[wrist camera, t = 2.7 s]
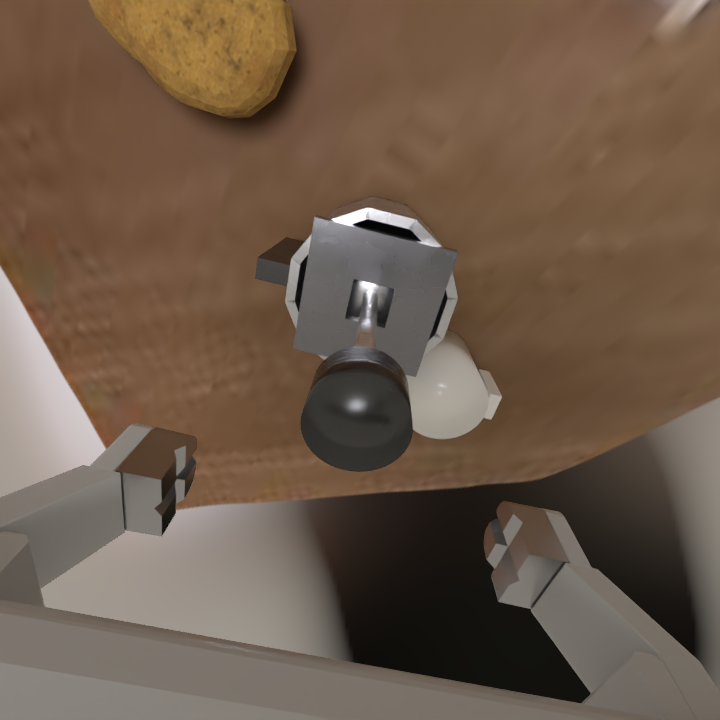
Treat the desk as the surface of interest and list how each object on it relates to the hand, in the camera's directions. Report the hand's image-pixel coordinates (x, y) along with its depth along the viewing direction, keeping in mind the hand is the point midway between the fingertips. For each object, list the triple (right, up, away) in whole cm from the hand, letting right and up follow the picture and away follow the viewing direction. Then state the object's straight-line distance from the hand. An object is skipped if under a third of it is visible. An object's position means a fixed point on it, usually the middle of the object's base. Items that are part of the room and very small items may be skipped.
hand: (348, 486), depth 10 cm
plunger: (+1, +8, +15) cm, 17 cm away
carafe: (0, +12, +24) cm, 27 cm away
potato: (-10, +27, +18) cm, 34 cm away
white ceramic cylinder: (+8, +3, +28) cm, 29 cm away
